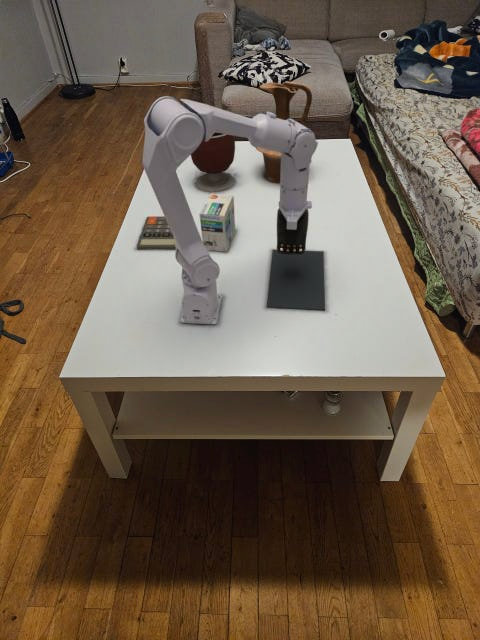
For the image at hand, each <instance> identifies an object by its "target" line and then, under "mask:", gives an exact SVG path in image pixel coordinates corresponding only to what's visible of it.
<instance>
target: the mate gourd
mask: <svg viewBox="0 0 480 640" xmlns="http://www.w3.org/2000/svg"><path fill="white" fill-rule="evenodd" d="M235 154H236V139H235V136H234V135H228V134H222V133H217V132H215V133H214V134H213V135H212V136H211V138H210V139H209V140H208V141H207V142H205V141H204V140H202V142H201V144H200V145H199V146H198V147H197V149H196V150H195V151H194V152H193V153H192V154H191V155H190V158H191V161H192V164H193V165H194V166H195V167H196V168H197V169H198V171H199V172H202V173H203V174H200V175H199V176H198V177H196V179H195V186H196V188H197V189H198V190H200V191H202V192H206V193H207V192H208V193H219V192H224V191H227V190H229V189H230V188H232V187H233V185H234V184H235V179H234V177H233V175H231V174H229V173H227V172H225V171H227V170H228V169H229V168H230V167H231V165H232V164H233V162H234V160H235Z"/></svg>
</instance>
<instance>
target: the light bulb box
mask: <svg viewBox="0 0 480 640" xmlns="http://www.w3.org/2000/svg"><path fill="white" fill-rule="evenodd" d="M235 217H236V216H235V198H234V195H230V194H219V193H209V194H208V196H207V198H206V200H205V202H204V204H203V206H202V208H201V209H200V212H199V222H200V230H201V231H200V232H201V240H202V242H203V244H204V245H205V247H206V249H207V251H216V252H228V250H229V248H230V246H231V243H232V241H233V238H234V236H235V233H236V220H235Z"/></svg>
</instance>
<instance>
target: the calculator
mask: <svg viewBox="0 0 480 640" xmlns="http://www.w3.org/2000/svg"><path fill="white" fill-rule="evenodd" d="M174 241H175V239H174V237H173V235H172V232H171V230H170V228H169V225H168V223H167V221H166V218H165V216H146V218H145V221H144V224H143V226H142V230H141V232H140V235H139V238H138V241H137V243H136V249H137V250H176V247H175V244H174Z"/></svg>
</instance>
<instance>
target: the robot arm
mask: <svg viewBox="0 0 480 640" xmlns="http://www.w3.org/2000/svg"><path fill="white" fill-rule="evenodd" d="M179 100H180V101H181V102H180V101H179ZM179 100H178V99H177V98H174V97H173V96H169V95H168V96H167V95H166V96H165V95H164V96H161V97H159V98H157V99H155V100H154V101H153V102H152V104H151V106H149V107H150V108H149V109H148V110H147V113H146V115H145V117H144V118H143V124H144V133H145V134H144V141H143V150H142V151H143V152H142V159H141V160H142V161H141V162H142V167H143V170H144V172H145V175H146V176H147V178H148V181H149V183H150V186H151V188H152V190H153V193H154V195H155V197H156V200H157V202H158V204H159V207H160V209H161V212H162V214H163V215H164V216H165V218H166V221H167V223H168V225H169V228H170V230H171V232H172V235H173V237H174V239H175V241H174V244H175V247H176V249H175V254H174V257H175V261H176V262H177V263H178V264H179V265H180V266H181V282H182V289H183V295H182V298H181V306H182V307H181V308H182V313H181V317H180V323H182V324H196V325H197V324H199V325H217V323H218V318H219V313H220V309H221V303H222V299H223V295H222V294H218V287H217V279H218V278H219V276H220V273H221V269H220V265H219V264H218V263H217V261H215V260H214V259H213V257H212V256H211V254H210V252H209V250H207V249H206V247H205V245H204V244H203V241H202V236H201V235H200V232H199V230H198V227H197V225H196V222H195V219H194V216H193V214H192V211H191V209H190V208H191V207H190V206H189V203H188V200H187V198H186V197H187V196H186V195H185V192H184V189H183V186H182V184H181V182H180V179H179V176H178V173H177V169H178V168H179V167H180V166H181V165H182V164H183V163H184V162H185V161H186V160H187V159H188V158H189V157H191V154H192V153H193V152H194V151H195V150H196V149H197V147H198V146H199V145H200V144H201V142H202V140H204V141H205V142H207V141H208V140H209V139H210V138H211V136H212V135H213V134H214V133H215V132H217V133H222V134H228V135H234V137H241V138H246V139H247V140H248V142H249V144H250V145H251V146H252V147H254V148H255V147H257V148H261V149H266V150H270V151H275V152H279V153H281V175H280V182H279V201H278V209H280V210H281V212H282V214H283V215H284V216H279V225H280V226H281V228H282V230H283V233H284V238H285V243H286V245H287V246H295V245H296V243H297V240H298V236H299V233H300V231H301V229H302V228H303V227H304V225H305V219H299V218H300V217H301V215H302V214H303V213H304V211H305V210H306V209H308V210H311V209H312V208H313V201H311V200H308V190H309V189H308V187H309V176H310V175H309V174H310V165H311V164H312V157H313V155H314V154H315V153H316V150H317V148H318V143H319V142H318V141H317V140H316V134H315V133H314V131H313V130H311V129H310V128H308V127H306V125H305V126H303V125H301V122H298V121H296V120H294V118H290V119H288V120H282V119H279V118H276V113H274V112H271V111H266V113H258V114H256V115H255V116H253V117H252V118H250V117H248V116H247V117H246V116H245V115H240V114H238V113H235V112H231V111H229V110H225V109H222V108H219V107H216V106H214V105H213V106H212V105H211V104H206V103H203V102H198V101H194V100H191V99H187V98H180V99H179Z"/></svg>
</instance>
